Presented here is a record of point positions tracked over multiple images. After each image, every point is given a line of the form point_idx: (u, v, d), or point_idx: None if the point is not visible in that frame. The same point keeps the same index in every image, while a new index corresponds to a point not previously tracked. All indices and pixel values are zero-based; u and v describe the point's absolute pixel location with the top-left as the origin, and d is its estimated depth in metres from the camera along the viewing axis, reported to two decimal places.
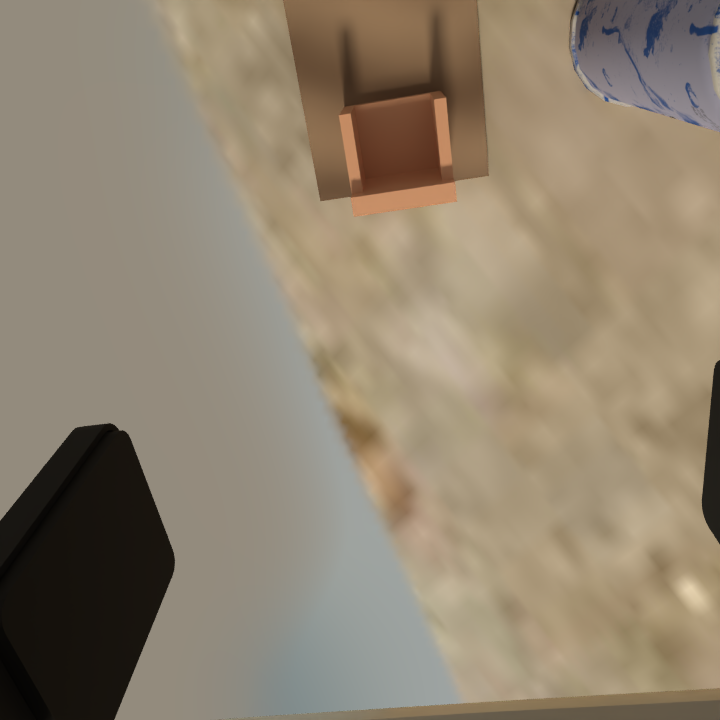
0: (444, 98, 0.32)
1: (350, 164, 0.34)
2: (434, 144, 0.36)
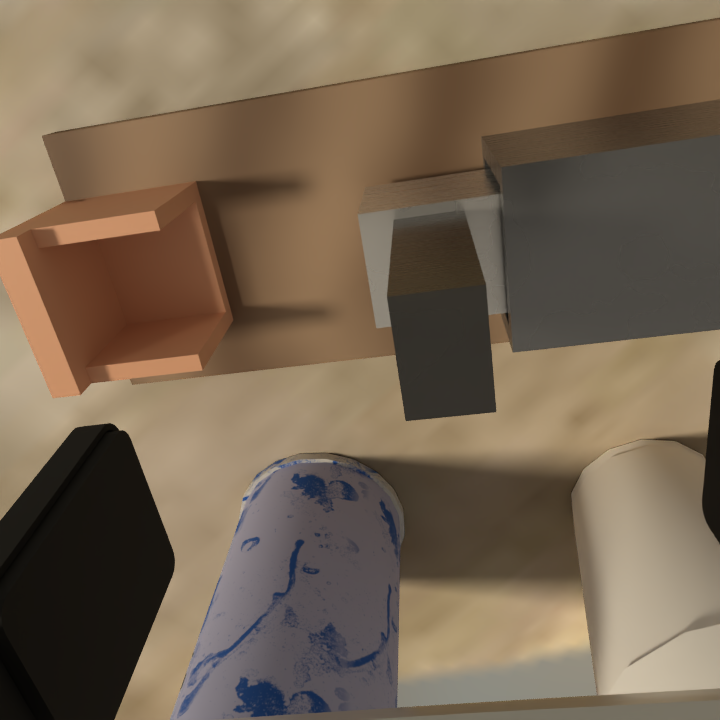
0: (201, 368, 0.22)
1: (79, 228, 0.20)
2: (157, 319, 0.25)
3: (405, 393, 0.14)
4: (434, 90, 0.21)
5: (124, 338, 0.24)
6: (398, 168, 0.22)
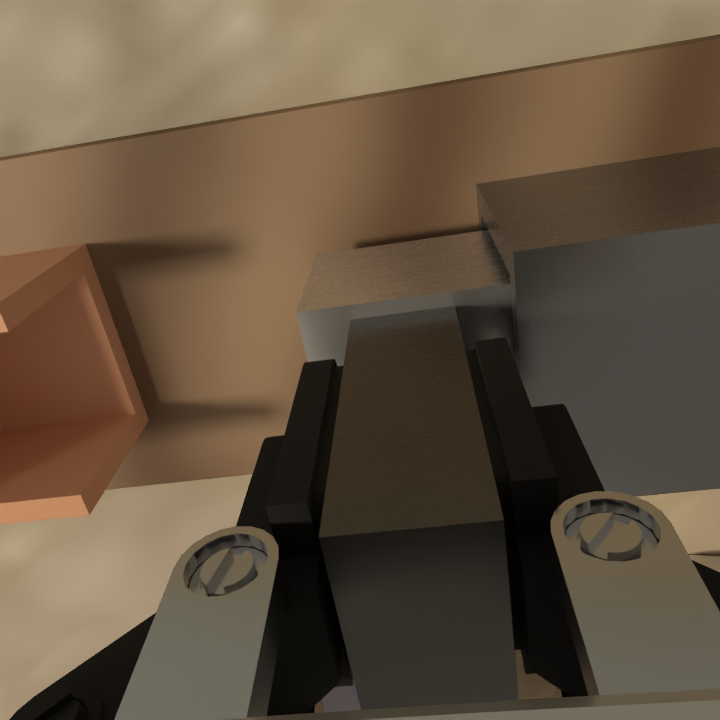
0: (87, 511, 0.15)
1: None
2: (45, 423, 0.18)
3: (360, 676, 0.08)
4: (410, 121, 0.15)
5: None
6: (362, 226, 0.16)
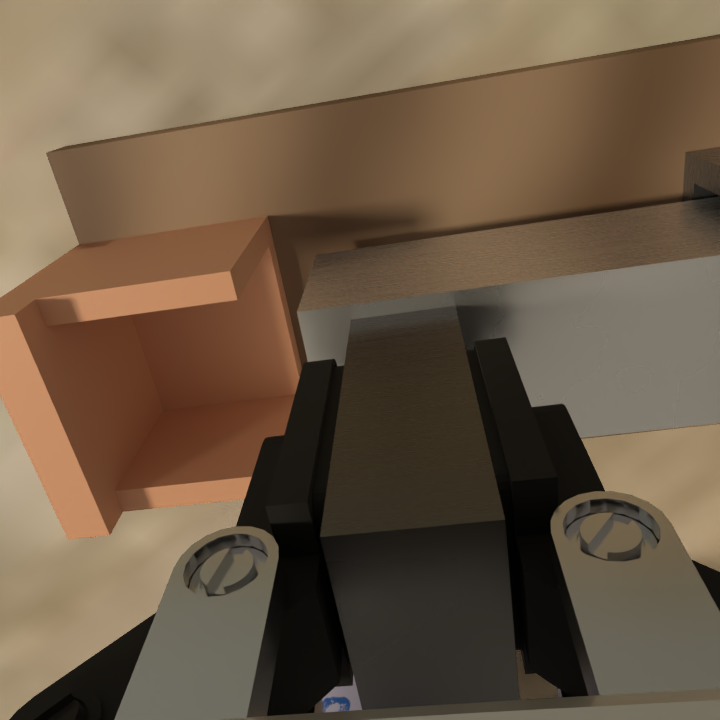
0: None
1: (111, 297, 0.13)
2: (207, 404, 0.18)
3: (361, 675, 0.08)
4: (625, 85, 0.14)
5: (164, 436, 0.17)
6: (560, 197, 0.16)
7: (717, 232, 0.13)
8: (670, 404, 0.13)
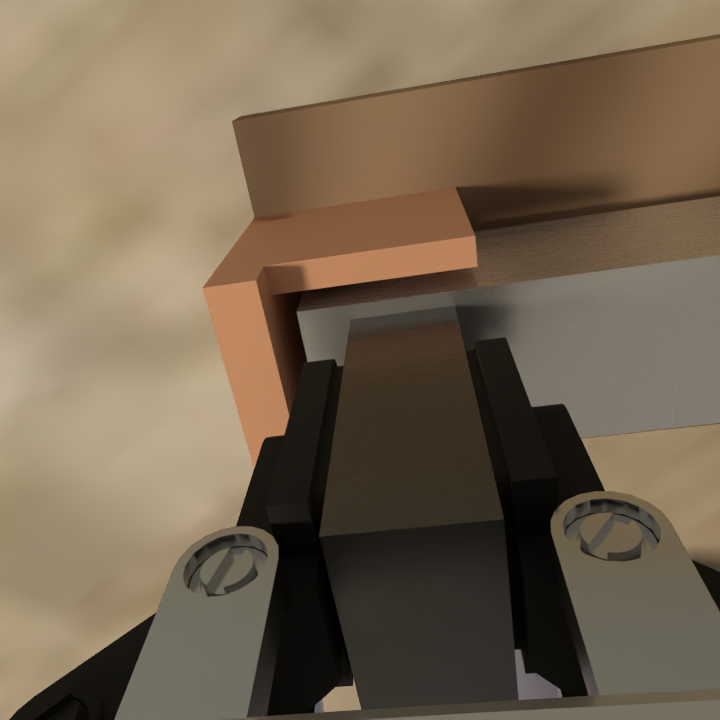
0: None
1: (344, 264, 0.12)
2: None
3: (360, 675, 0.08)
4: None
5: None
6: None
7: (716, 233, 0.13)
8: (669, 404, 0.13)
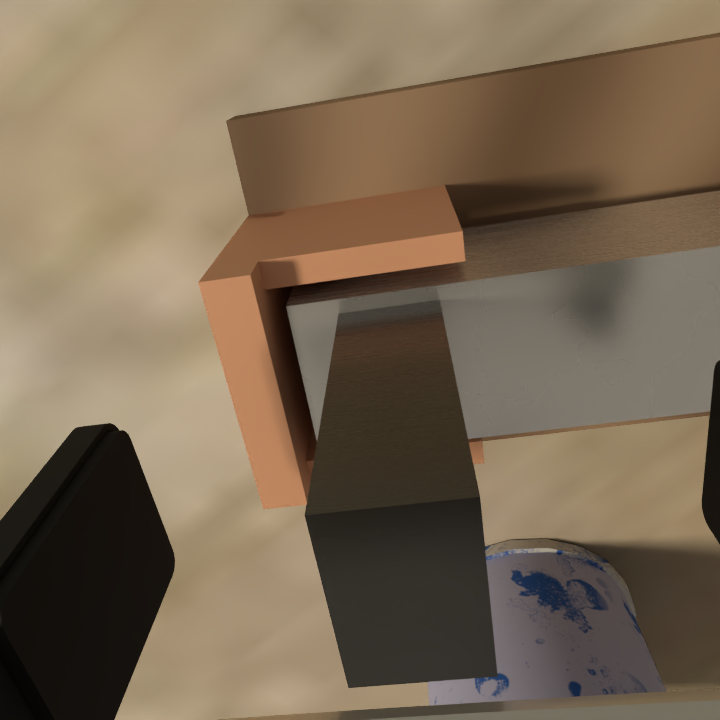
0: (482, 459, 0.15)
1: (336, 259, 0.13)
2: None
3: (346, 650, 0.08)
4: None
5: None
6: None
7: (693, 229, 0.13)
8: (648, 395, 0.13)
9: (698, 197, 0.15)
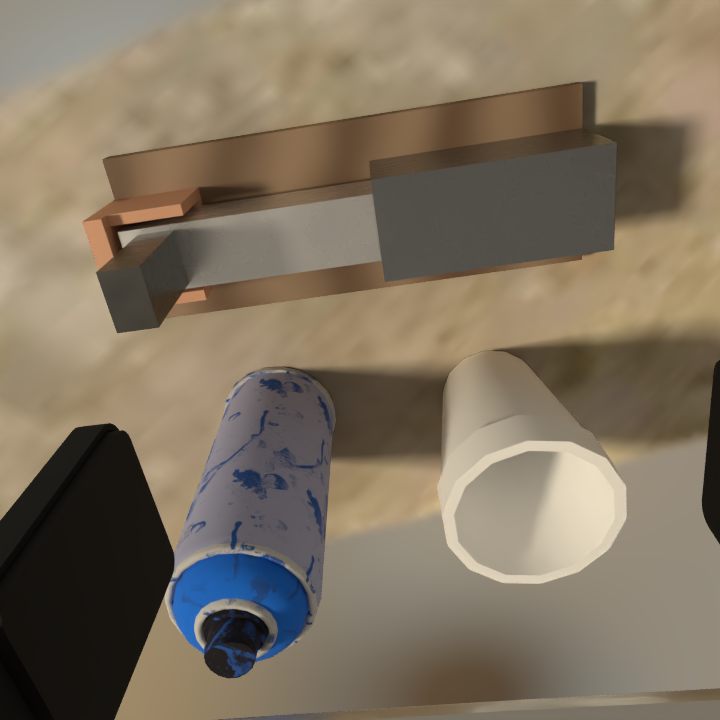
0: (205, 298, 0.36)
1: (135, 214, 0.34)
2: None
3: (114, 319, 0.30)
4: (340, 134, 0.36)
5: None
6: (321, 179, 0.37)
7: (272, 204, 0.35)
8: (260, 267, 0.35)
9: (293, 192, 0.36)
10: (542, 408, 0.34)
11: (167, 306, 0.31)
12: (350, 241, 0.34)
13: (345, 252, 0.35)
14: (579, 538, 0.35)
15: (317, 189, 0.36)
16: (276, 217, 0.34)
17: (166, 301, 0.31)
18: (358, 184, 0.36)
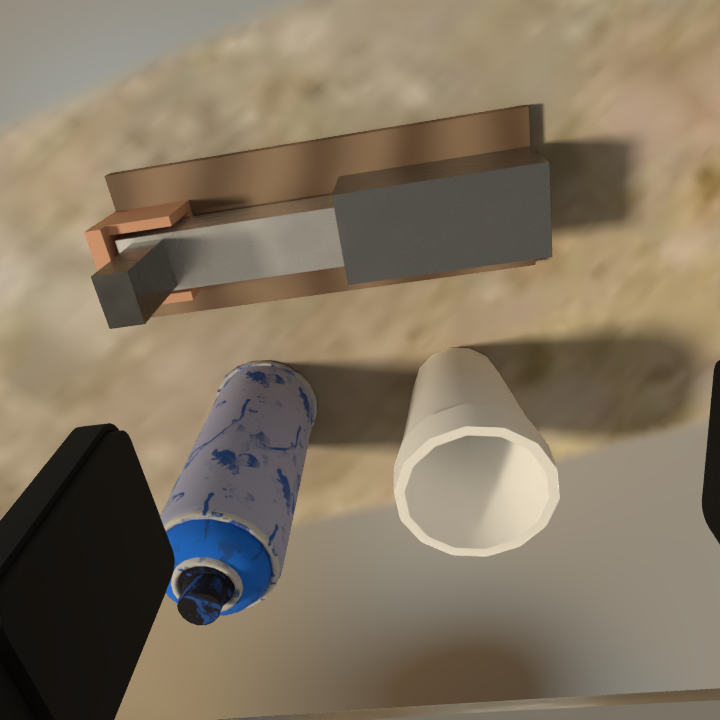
0: (192, 298, 0.41)
1: (130, 225, 0.39)
2: None
3: (107, 316, 0.35)
4: (312, 153, 0.41)
5: None
6: (296, 192, 0.42)
7: (249, 216, 0.39)
8: (239, 272, 0.40)
9: (271, 205, 0.41)
10: (487, 399, 0.38)
11: (154, 306, 0.36)
12: (317, 248, 0.39)
13: (313, 258, 0.39)
14: (522, 516, 0.39)
15: (291, 202, 0.41)
16: (252, 227, 0.38)
17: (153, 301, 0.36)
18: (327, 197, 0.40)
